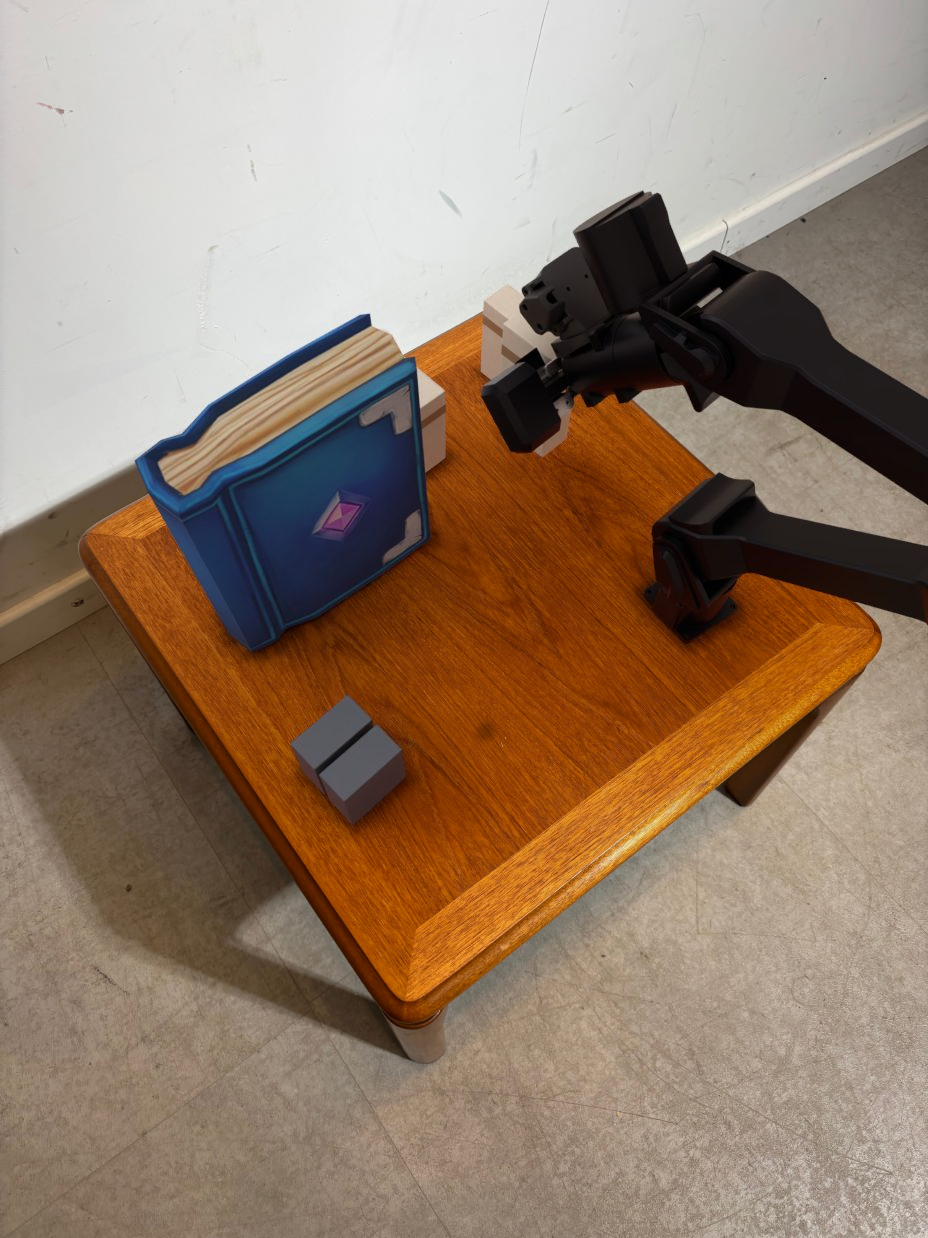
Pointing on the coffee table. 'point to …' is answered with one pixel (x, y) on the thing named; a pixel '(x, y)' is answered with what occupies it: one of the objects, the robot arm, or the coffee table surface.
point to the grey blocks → (350, 759)
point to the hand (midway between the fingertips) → (527, 373)
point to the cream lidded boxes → (433, 396)
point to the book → (298, 482)
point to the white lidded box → (517, 345)
